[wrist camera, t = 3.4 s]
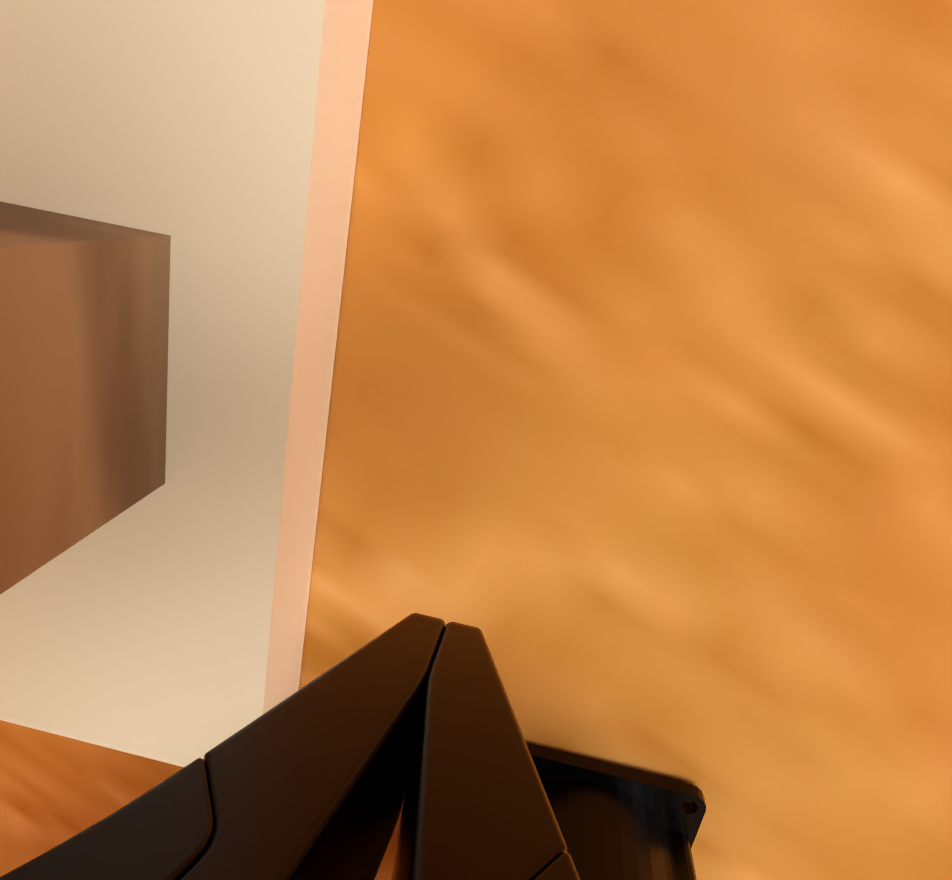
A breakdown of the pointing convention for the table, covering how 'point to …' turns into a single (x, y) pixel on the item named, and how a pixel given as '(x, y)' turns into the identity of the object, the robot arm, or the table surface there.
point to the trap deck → (192, 347)
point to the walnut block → (77, 379)
